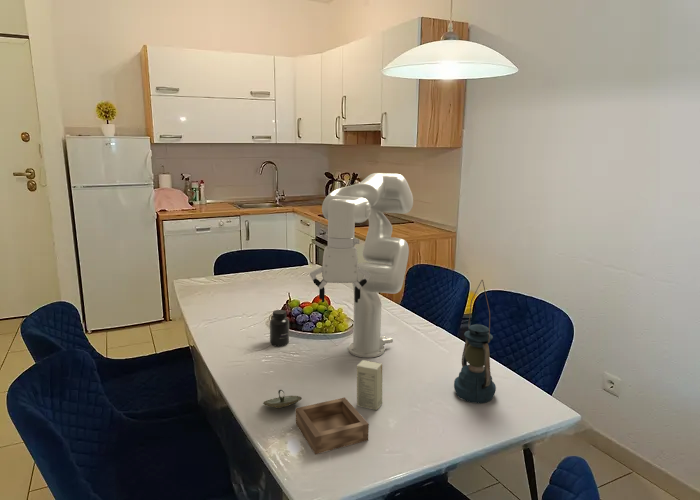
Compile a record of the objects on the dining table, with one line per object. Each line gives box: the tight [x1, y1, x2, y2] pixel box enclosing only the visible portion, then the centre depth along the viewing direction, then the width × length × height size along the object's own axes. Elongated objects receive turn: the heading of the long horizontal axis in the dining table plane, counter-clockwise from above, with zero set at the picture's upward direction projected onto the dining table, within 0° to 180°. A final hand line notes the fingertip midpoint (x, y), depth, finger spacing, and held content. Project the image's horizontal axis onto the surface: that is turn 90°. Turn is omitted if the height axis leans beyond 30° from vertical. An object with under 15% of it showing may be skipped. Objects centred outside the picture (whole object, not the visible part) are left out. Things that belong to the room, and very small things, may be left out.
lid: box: [262, 389, 302, 409], centre depth 138 cm, size 11×10×5 cm
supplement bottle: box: [269, 309, 290, 347], centre depth 180 cm, size 7×7×12 cm
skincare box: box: [356, 359, 383, 411], centre depth 139 cm, size 6×4×12 cm
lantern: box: [453, 279, 497, 404], centre depth 143 cm, size 14×12×35 cm
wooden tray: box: [295, 397, 370, 455], centre depth 127 cm, size 14×14×4 cm
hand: (339, 301), depth 145 cm, fingers open, 9 cm apart
